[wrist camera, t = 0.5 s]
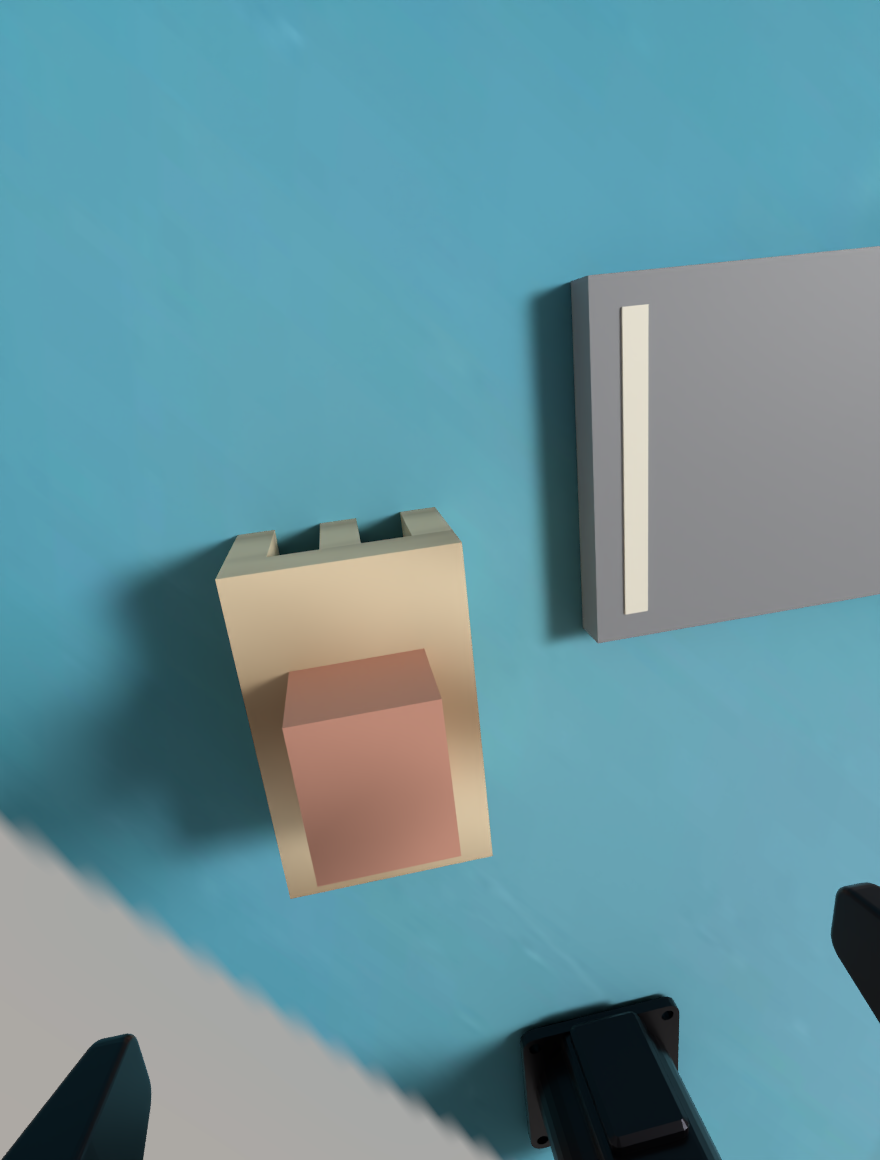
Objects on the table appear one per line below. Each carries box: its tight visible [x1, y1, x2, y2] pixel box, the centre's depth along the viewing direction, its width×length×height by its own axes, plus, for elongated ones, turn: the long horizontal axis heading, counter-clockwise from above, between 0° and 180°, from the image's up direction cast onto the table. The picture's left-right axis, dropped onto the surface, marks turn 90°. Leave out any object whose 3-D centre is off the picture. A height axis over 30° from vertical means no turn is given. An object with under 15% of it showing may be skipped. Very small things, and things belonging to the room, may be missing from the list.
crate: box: [282, 648, 461, 887], centre depth 15 cm, size 4×3×2 cm
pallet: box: [215, 507, 493, 899], centre depth 18 cm, size 9×6×4 cm, turn 6°
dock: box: [571, 246, 880, 643], centre depth 19 cm, size 10×12×1 cm
